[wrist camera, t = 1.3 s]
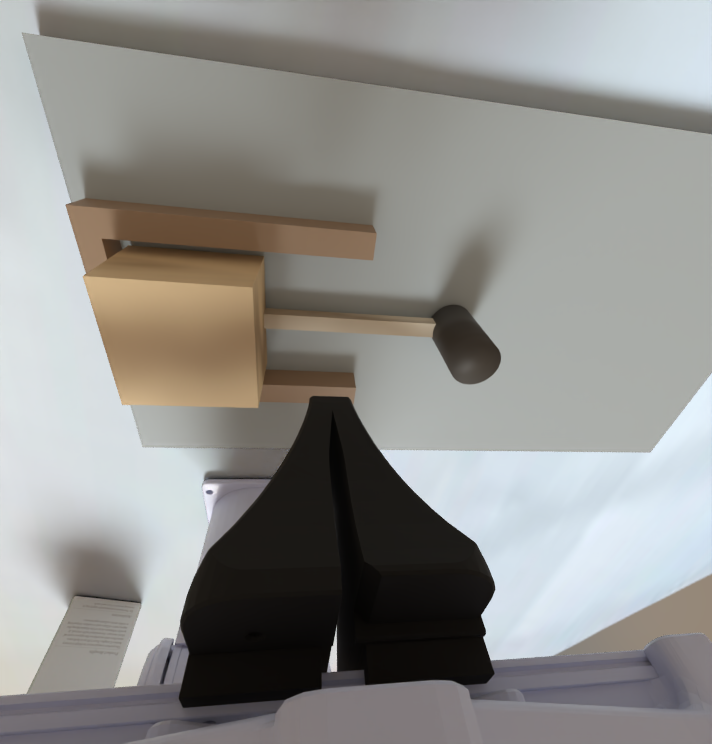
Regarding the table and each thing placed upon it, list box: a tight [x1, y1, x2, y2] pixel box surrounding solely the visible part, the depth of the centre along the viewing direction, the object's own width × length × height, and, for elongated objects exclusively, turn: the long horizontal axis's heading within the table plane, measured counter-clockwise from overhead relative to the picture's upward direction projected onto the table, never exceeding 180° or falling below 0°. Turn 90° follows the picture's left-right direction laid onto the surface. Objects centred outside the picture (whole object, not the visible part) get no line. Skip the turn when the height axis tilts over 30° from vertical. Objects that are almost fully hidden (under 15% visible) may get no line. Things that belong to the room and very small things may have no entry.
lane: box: [22, 33, 712, 452], centre depth 21 cm, size 20×37×2 cm, turn 84°
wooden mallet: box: [83, 245, 501, 408], centre depth 18 cm, size 6×17×4 cm, turn 84°
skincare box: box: [27, 596, 141, 694], centre depth 31 cm, size 6×4×12 cm
